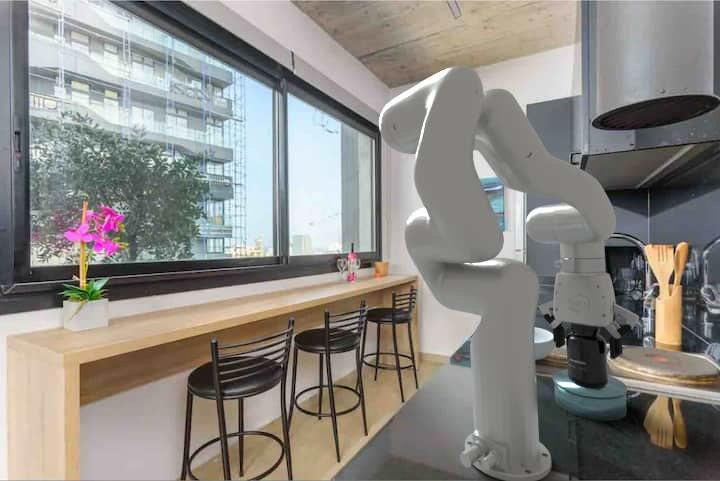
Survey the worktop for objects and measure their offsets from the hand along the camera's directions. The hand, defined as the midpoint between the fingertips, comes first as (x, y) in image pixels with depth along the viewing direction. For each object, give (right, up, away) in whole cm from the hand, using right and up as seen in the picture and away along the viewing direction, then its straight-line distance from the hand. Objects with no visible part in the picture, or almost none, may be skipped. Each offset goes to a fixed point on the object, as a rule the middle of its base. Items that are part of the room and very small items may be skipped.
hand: (586, 351), depth 70 cm
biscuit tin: (+1, -11, 0) cm, 11 cm away
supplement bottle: (0, -6, 0) cm, 6 cm away
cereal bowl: (0, -11, +28) cm, 30 cm away
